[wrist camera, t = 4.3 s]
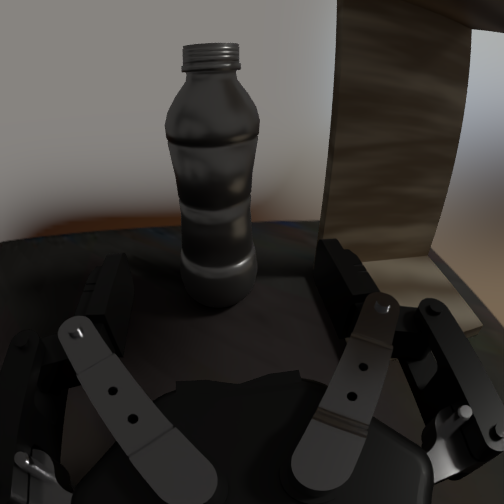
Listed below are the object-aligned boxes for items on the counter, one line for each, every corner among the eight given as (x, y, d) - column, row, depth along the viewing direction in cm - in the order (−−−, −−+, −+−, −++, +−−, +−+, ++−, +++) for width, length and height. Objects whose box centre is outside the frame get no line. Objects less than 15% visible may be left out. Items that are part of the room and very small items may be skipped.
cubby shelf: (477, 334, 23) (567, 29, 7) (357, 368, 21) (436, -69, 6) (418, 258, 32) (463, 14, 17) (313, 268, 31) (337, -29, 15)
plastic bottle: (175, 314, 25) (141, 48, 14) (194, 265, 31) (178, 49, 20) (253, 321, 25) (258, 40, 14) (259, 269, 31) (265, 46, 19)
